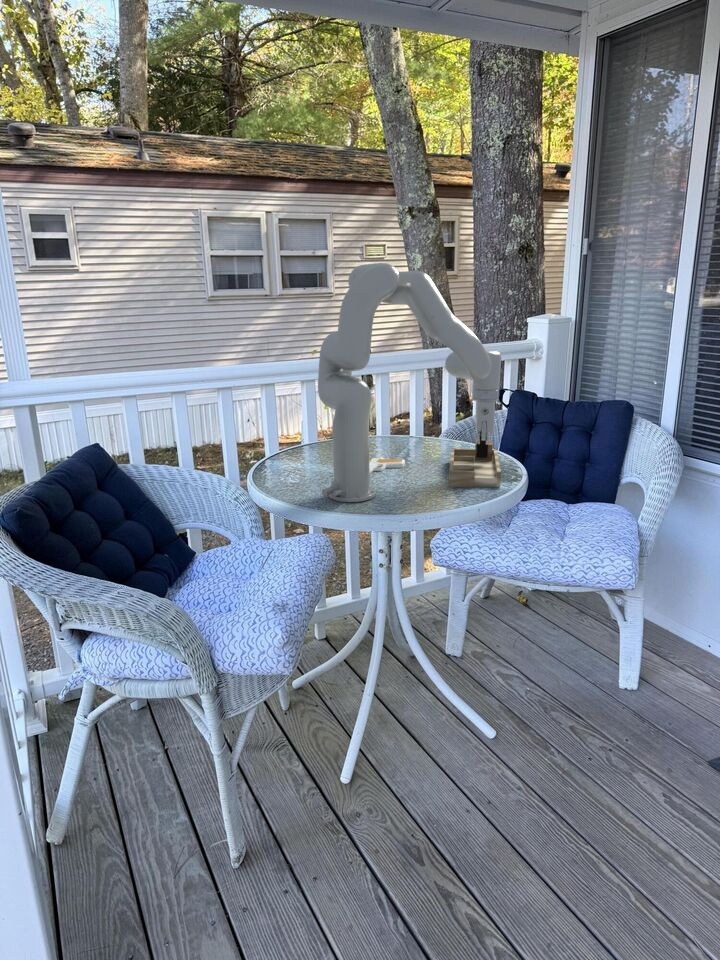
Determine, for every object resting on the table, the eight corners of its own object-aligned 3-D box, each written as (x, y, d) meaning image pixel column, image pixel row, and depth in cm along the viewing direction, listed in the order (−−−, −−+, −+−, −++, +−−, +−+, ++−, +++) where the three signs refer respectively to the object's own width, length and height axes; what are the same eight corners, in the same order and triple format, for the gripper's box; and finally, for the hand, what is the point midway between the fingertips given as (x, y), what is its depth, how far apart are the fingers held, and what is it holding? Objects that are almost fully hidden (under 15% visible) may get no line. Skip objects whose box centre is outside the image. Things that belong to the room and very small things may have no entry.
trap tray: (500, 488, 174) (501, 473, 173) (448, 486, 176) (449, 471, 175) (496, 462, 198) (496, 449, 197) (450, 461, 201) (451, 448, 199)
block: (491, 460, 192) (492, 444, 190) (475, 460, 192) (475, 444, 191) (491, 456, 196) (492, 440, 195) (474, 456, 197) (475, 440, 196)
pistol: (389, 483, 182) (352, 480, 186) (407, 464, 200) (373, 462, 204) (389, 475, 181) (352, 472, 185) (407, 457, 199) (373, 454, 203)
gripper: (500, 399, 174) (495, 464, 179) (497, 391, 188) (493, 451, 193) (472, 398, 175) (468, 462, 180) (471, 390, 189) (468, 450, 195)
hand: (481, 456), depth 187 cm, fingers closed
